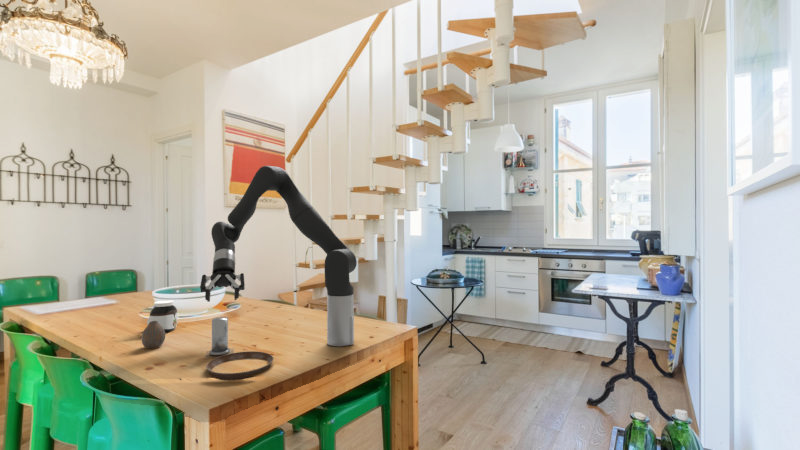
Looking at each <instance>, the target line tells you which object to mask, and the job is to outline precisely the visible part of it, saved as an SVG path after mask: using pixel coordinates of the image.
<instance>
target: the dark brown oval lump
mask: <svg viewBox="0 0 800 450" xmlns="http://www.w3.org/2000/svg"><path fill="white" fill-rule="evenodd" d="M165 339H166V333H165V331H164V329H163V327H162V326H161V325H160V324H159V323H158V321H151V322H149V324H148V325H147V326H146V327H145V328H144V329H143V331H142V333H141V339H140V340H141V344H142V345H143V347H144V348H146V349H147V350H149V349H150V350H152V349H157V348H160V347H161V346H162V345H163V344H164V342H165Z"/></svg>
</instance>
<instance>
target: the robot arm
mask: <svg viewBox="0 0 800 450" xmlns="http://www.w3.org/2000/svg"><path fill="white" fill-rule="evenodd" d="M268 191H270V192H271V191H275V192H276V193H277V194H279V195H280V197H281V198H282V199H283V200H284V201H285V204H286V206H287V209H288V215H289V217H290V220H291V221H292V223H293V224H294V225H295V227H296V228H297V229H298V230H299V231H300V233H301V234H302V235H303V236H305V238H307V239H309V241H311V242H312V243H314V244H316V245H317V246H319V248H321V249H322V250H323V251H324V253H325V254H326V256H325V259H324V284H325V285H324V286H325V288H326V296H327V298H326V299H327V301H326V303H327V308H326V310H327V314H326V315H327V316H326V318H327V319H326V324H327V325H326V328H327V331H326V334H327V335H326V336H327V337H326V338H327V339H326V340H327V345H328V346H332V347H345V346H353V345H354V341H355V314H354V286H353V285H352V284H351V281H350V273H352V272H354V271H355V270H356V267H357V258H356V255H355V253H354V252H353V251H352V250H351V249H350V248H349V247H348V246H347V245H346V244H344V242H343V241H342V240H341V239H339V237H338V236H337V235H336V234H335V233H334V231H333V230H332V228H331V227H330V226H329V225H328V223H326V221H325V220H324V219H323V217H322V216H321V215H320V214H319V213H318V211H317V210H316V209H315V208H314V207H313V205H312V204H311V203H310V202H309V200H308V199H307V197H305V196H304V194H303V193H301V191H300V190H299V189H298V187H297V186H296V184H295V182H294V181H293V180H292V178H291V176H290V175H289V174H288V172H287V171H286V170H285V169H284V168H282V167H280V166H275V165H274V166H273V165H263V166H261V167H259V168H258V170H257V171H256V172H255V174H254V176H253V178H252V180H251V181H250V183H249V185H248V187H247V188H246V191H245V192H244V194H243V196H242V198H241V199H240V200H239V201H238V203H237V204H236V205H235V207H234V208H233V209H231V211H230V212H229V214H228V215H227V221H228V223H226V222H224V221H218V222H217V221H216V223H214V224H213V226H212V228H211V230H210V231H211V238H212V242H213V244H214V257H213V262H212V274H211V275H206V274H202V276H201V280H200V287H199V288H200V292H201V293H205V295H204V297H205V301H206V302H207V303H208V302H209V303H210V302H211V292H212V291H214V290H216V288H228V287H230V288H231V289H232V290H234V295H233V296H234V301H238V300H237V299H240V298H239V297H240V291H245V286H246V285H245V284H246V283H245V274H244V273H243V272H241V273H239V274H236V255H235V254H236V246H235V243H236V242H237V241H238V240H239V239H240V236H241V233H242V232H243V230H244V227H245V225H246V224H247V222H249V220H250V219H251V218H252V217H253V215H254V214H255V212H256V209H257V203H258V201H259V199H260V198H261V197H262V196H263V195H264V194H265V193H267V192H268ZM236 280H237V281H238V282H240V284H238V283H237V282H236ZM208 282H209V284H208V285H207V286H206V284H207V283H208Z"/></svg>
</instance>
